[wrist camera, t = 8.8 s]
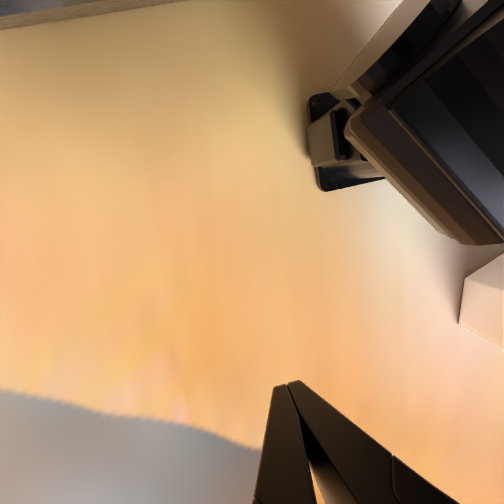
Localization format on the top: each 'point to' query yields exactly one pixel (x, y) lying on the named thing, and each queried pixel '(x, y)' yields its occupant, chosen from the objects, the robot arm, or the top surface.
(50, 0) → the shaft stand
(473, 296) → the jar
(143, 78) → the top surface
